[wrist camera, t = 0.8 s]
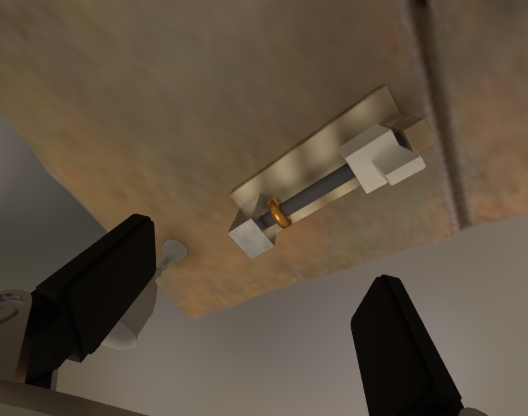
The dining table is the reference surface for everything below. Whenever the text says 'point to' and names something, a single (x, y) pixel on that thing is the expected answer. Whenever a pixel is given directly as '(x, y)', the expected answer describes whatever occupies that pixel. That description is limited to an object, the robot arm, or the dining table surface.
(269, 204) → the connector
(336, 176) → the dark grey rod
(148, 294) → the chalice
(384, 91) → the beige rod holder
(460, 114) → the dining table surface
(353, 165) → the sleeve
